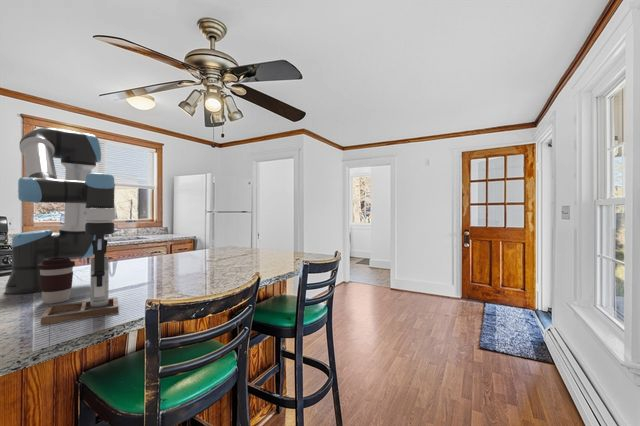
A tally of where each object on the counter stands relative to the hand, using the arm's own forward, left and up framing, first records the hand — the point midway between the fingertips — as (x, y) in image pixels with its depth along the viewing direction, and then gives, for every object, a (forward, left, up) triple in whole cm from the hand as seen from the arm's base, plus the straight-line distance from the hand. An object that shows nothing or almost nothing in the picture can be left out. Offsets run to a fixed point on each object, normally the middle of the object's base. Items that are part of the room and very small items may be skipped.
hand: (99, 294), depth 96 cm
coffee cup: (-20, -13, -5) cm, 24 cm away
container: (0, 0, -4) cm, 4 cm away
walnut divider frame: (0, -4, -5) cm, 7 cm away
